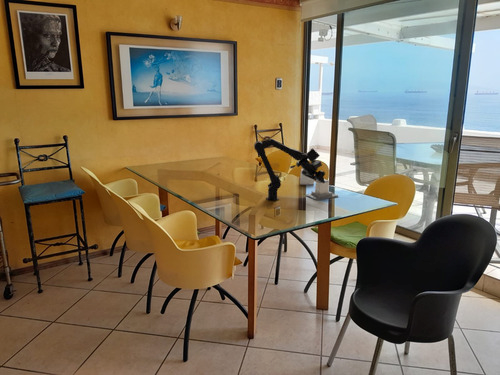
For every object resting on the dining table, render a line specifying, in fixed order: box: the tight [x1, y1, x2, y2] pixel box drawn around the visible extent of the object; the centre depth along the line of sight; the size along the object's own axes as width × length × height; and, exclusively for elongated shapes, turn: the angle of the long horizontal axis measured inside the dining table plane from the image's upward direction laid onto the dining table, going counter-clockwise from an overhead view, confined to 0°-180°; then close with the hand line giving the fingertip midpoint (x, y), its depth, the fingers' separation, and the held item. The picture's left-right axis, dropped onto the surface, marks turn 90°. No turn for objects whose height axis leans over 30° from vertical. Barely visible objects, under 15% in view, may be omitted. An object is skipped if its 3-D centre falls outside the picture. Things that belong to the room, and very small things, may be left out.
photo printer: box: [299, 168, 315, 185], centre depth 279 cm, size 10×4×12 cm, turn 90°
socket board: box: [305, 190, 339, 201], centre depth 247 cm, size 12×18×3 cm, turn 116°
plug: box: [314, 178, 330, 194], centre depth 246 cm, size 5×7×10 cm
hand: (320, 181), depth 244 cm, fingers open, 9 cm apart
